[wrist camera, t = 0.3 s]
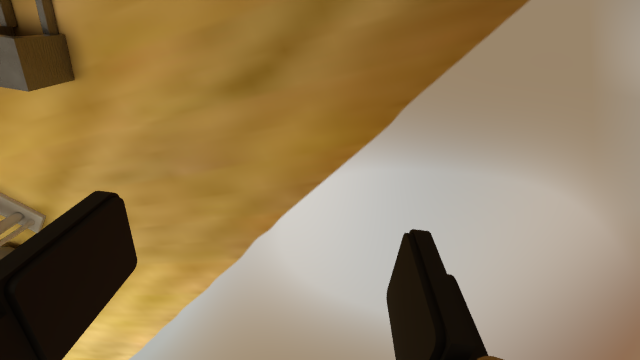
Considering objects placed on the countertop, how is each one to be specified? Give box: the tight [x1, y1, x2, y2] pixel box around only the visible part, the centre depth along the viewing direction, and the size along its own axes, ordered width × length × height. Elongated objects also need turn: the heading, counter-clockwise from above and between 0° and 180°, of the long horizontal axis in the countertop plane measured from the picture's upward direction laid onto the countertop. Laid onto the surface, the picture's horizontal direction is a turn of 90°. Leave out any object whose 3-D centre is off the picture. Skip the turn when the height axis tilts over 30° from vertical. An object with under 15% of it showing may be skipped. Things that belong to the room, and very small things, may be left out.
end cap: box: [0, 25, 74, 92], centre depth 40 cm, size 6×8×8 cm
